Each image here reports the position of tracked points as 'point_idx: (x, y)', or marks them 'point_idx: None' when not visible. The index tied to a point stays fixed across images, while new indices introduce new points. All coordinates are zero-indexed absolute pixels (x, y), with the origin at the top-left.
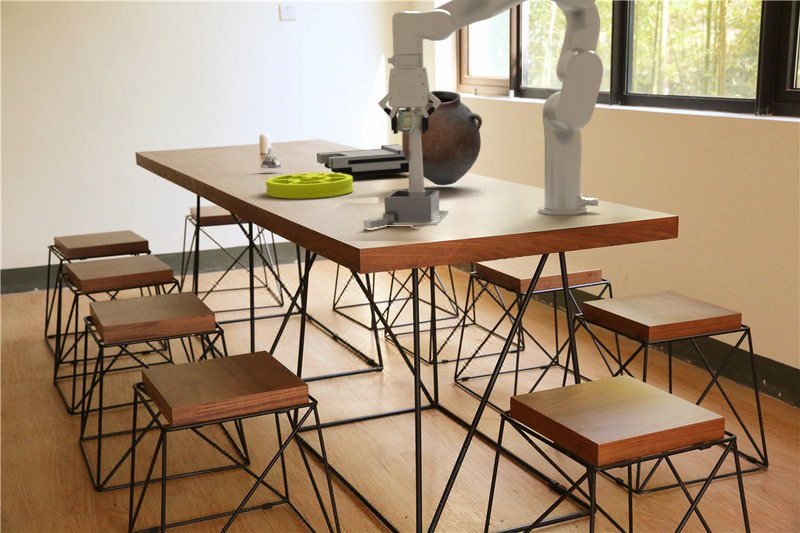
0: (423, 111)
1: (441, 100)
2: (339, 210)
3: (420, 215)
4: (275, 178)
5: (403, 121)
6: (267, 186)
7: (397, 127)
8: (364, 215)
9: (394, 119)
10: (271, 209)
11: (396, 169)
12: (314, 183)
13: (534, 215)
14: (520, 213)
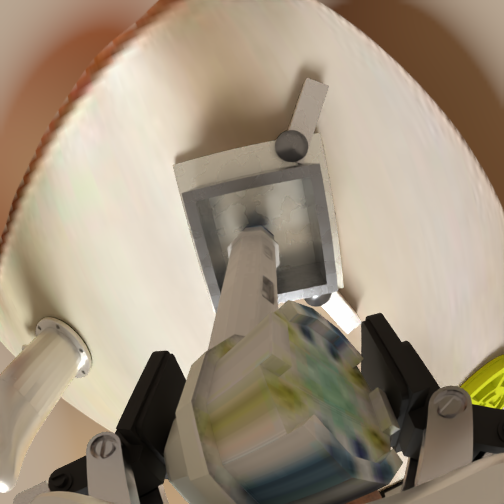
0: (110, 477)
1: None
2: (442, 291)
3: (219, 181)
4: None
5: (303, 365)
6: None
7: (372, 380)
8: (389, 255)
9: (412, 384)
10: None
11: (388, 490)
12: (480, 397)
13: (78, 322)
14: (103, 335)
